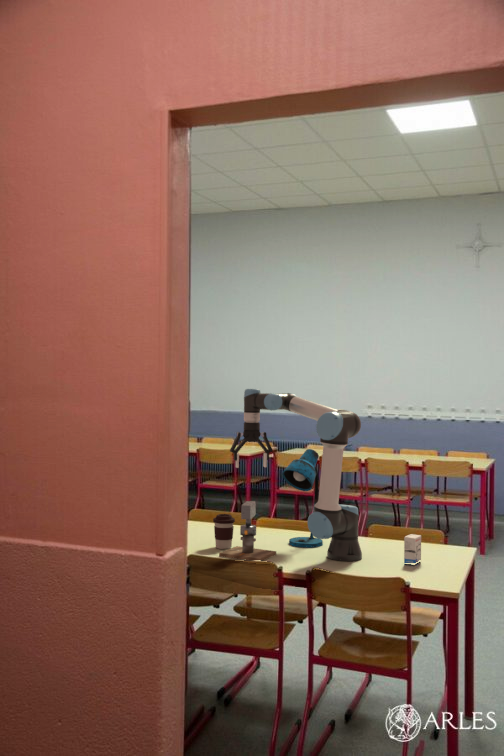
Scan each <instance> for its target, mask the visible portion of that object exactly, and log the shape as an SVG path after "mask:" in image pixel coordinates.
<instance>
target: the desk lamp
mask: <svg viewBox="0 0 504 756" xmlns="http://www.w3.org/2000/svg"><path fill="white" fill-rule="evenodd" d="M318 460H319V453H318V452H317V451H316V450H314V449H312V448H307V449H306V450H305V451H304V452H303V454H302V455H301V456H300V457H299V458H298V459H292V461H291V462H290V463H289V465H288V466H287V467H285V468H284V470H283V471H282V473H281V475H282V478H283V479H284V481H285V482H286V483H287V484H288V485H289V486H291V487H292V488H294V489H296V490H298V491H301V492H302V491H303V492H309V491H311V490H312V489H313V486H314V496H313V498H314V499H313V506H314V505H315V504H316V503H317V502H318V499H319V471H318V468H317V466H316V464H317V462H318ZM313 512H314V508H313V510H312V513H313ZM309 535H310V536H298V537H297V536H296V537H295V536H294V537H292V538H290V539H289V541H288V544H289V546H291V545H292V546H291V547H296V548H303V549H304V548H305V549H313V548H320V547H322V546H323V545H324V541H323V539H318V538H316V537H314V536H313V535H312V533H311V532H310V534H309Z"/></svg>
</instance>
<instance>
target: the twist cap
mask: <svg viewBox="0 0 504 756" xmlns="http://www.w3.org/2000/svg"><path fill="white" fill-rule="evenodd" d="M256 503H257V502H256V501H255V500H246V501H245V502H243V504H241V505H240V506H241V508H240V510H241V512H240V513H241V514H240V515H241V516H240V518H241V520H245V524H240V527H239V529H240V531H239V534H240V536H241V537H243V536H254V537H255V536H256V535H257V525H255V524H252V519H253V518H254V517H255V516H256V507H257V505H256Z"/></svg>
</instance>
